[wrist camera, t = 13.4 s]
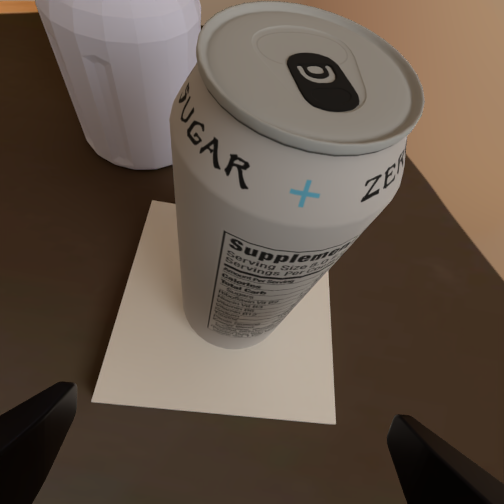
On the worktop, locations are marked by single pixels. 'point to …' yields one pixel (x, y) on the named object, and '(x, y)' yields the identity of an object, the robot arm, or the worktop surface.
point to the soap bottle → (124, 70)
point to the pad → (211, 347)
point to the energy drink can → (281, 159)
